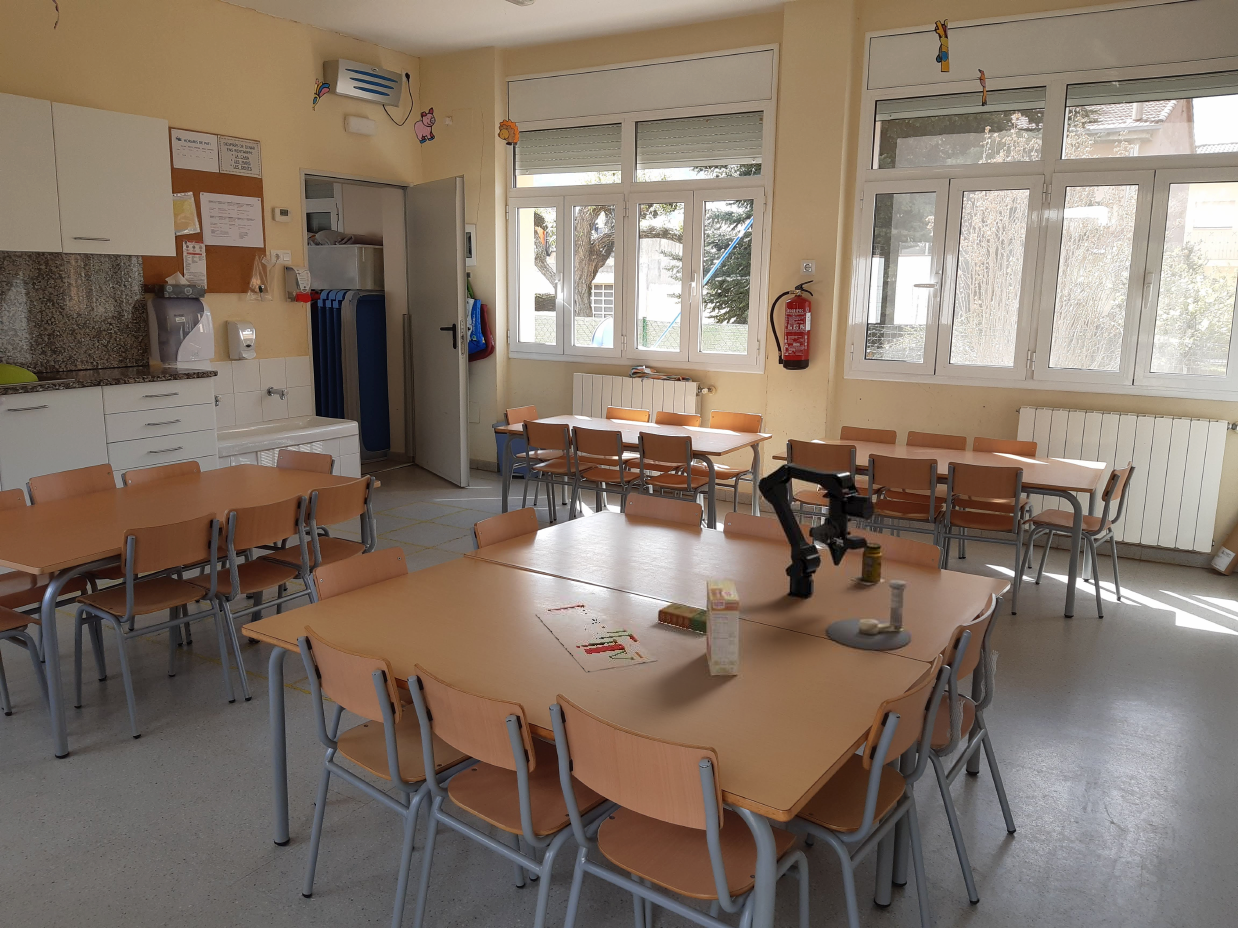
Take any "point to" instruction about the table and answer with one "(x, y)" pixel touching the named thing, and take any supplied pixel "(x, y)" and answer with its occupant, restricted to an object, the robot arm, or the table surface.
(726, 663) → the coffeecake box
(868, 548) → the condiment
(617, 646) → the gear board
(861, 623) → the crank handle
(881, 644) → the dial plate
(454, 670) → the table surface
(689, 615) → the carton
